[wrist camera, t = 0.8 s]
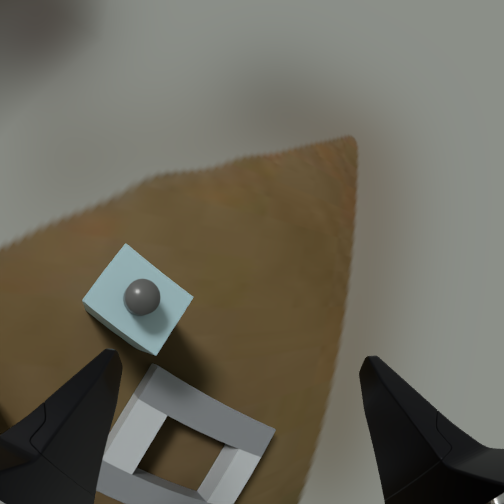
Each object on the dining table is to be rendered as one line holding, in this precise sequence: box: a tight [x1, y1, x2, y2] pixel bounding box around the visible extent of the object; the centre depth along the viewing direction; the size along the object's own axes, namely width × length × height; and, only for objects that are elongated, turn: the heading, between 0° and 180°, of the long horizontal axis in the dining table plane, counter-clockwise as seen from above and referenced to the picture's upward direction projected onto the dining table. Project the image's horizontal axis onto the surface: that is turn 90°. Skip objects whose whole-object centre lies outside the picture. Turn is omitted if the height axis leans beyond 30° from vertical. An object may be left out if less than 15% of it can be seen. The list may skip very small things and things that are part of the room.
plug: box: [82, 244, 193, 356], centre depth 19 cm, size 4×6×10 cm
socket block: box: [96, 363, 276, 504], centre depth 21 cm, size 13×13×2 cm
